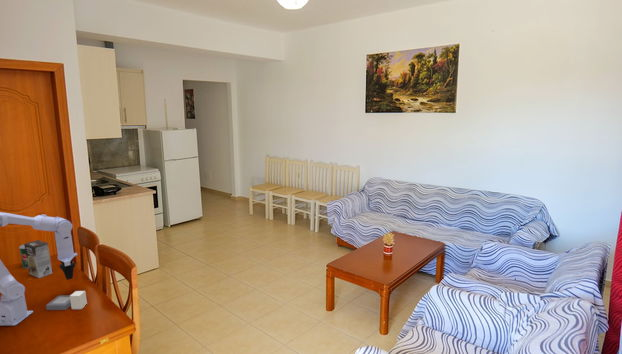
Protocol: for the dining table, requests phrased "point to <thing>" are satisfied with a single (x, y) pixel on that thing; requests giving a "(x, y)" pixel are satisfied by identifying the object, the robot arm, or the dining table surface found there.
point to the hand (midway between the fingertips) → (69, 275)
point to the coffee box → (38, 258)
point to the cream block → (78, 299)
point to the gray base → (59, 303)
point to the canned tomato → (23, 256)
